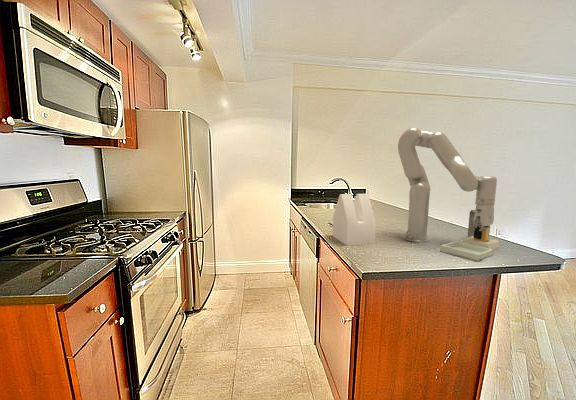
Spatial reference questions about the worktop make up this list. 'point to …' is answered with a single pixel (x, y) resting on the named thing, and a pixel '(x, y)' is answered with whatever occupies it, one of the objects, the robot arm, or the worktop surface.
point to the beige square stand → (482, 243)
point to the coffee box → (471, 224)
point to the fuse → (484, 234)
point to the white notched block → (354, 220)
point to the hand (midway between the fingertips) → (481, 237)
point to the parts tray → (466, 250)
